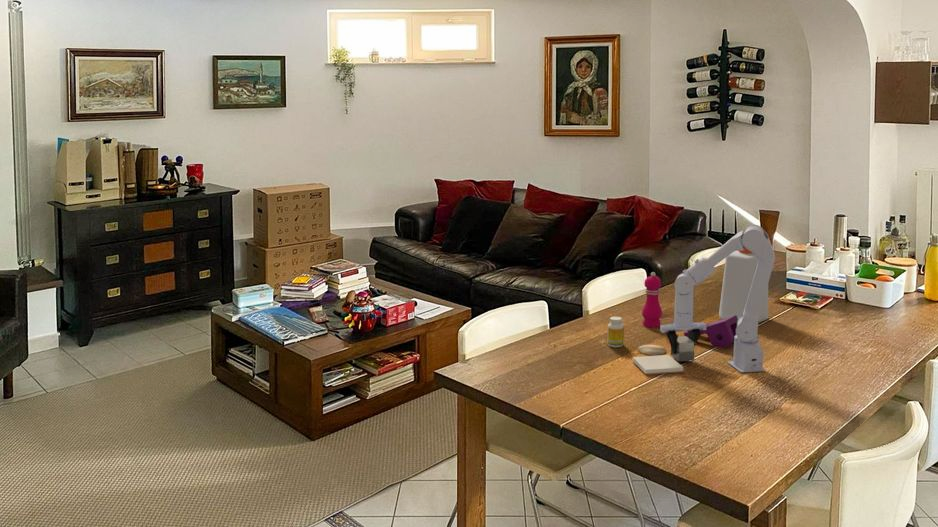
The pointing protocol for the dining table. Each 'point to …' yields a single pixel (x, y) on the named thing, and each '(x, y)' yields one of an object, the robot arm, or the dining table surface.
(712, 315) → the dining table surface
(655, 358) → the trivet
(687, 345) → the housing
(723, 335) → the mounting bracket
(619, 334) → the supplement bottle
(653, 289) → the pepper mill
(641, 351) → the metal coaster
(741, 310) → the plastic bottle
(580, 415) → the dining table surface
